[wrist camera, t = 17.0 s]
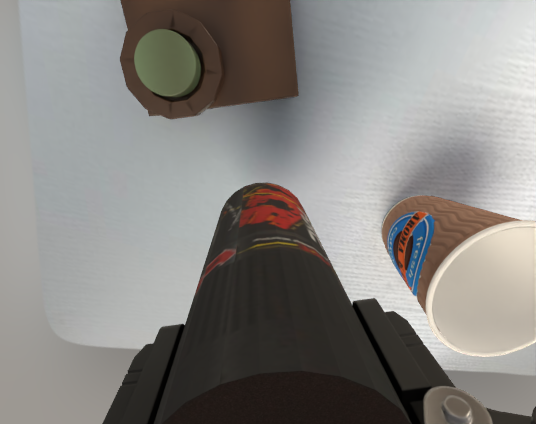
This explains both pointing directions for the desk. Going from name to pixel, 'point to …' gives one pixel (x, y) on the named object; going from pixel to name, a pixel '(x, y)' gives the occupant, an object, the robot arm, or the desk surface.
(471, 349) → the coffee cup
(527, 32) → the desk surface
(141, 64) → the green short cylinder
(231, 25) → the button housing
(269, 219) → the deodorant
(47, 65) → the desk surface
